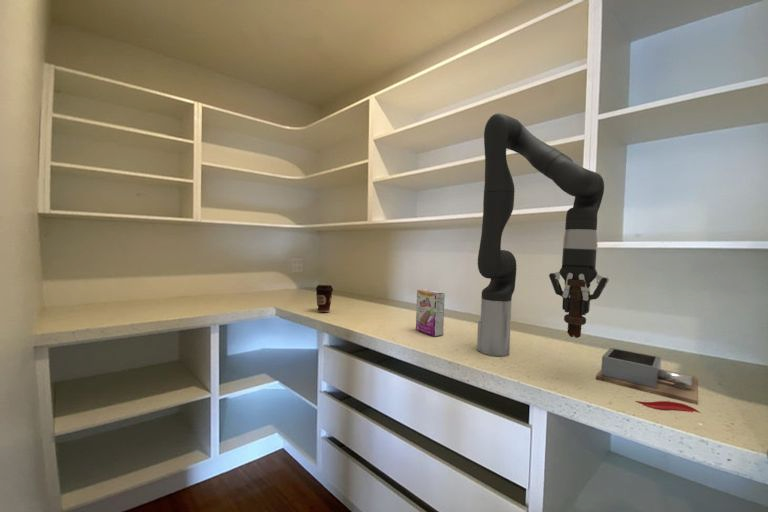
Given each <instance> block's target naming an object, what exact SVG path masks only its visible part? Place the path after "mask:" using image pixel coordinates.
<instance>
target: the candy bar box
mask: <svg viewBox="0 0 768 512" xmlns="http://www.w3.org/2000/svg"><path fill="white" fill-rule="evenodd" d="M445 295H446V293H445V292H443V291H436V290H431V289H426V288H423V289H417V290H416V316H415V318H416V319H415V322H416V324H415V330H416V331H417V332H421V333H424V334H426V335H429V336H431V337H440V336H441V337H442V336H443V335H444V325H445V323H444V319H445V315H444V314H445Z"/></svg>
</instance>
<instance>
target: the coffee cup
mask: <svg viewBox="0 0 768 512" xmlns="http://www.w3.org/2000/svg"><path fill="white" fill-rule="evenodd" d="M315 290H316V291H315V292H316V306H317V309H316V310H317V312H324V313H325V312H327V313H328V312H331V309H330V308H331V305H332V304H331V303H332V298H333V296H332V294H333V291H334V288H333V286H332V285H331V284H317V286H316V288H315Z"/></svg>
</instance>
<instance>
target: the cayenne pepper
mask: <svg viewBox="0 0 768 512" xmlns="http://www.w3.org/2000/svg"><path fill="white" fill-rule="evenodd" d="M634 402H635V403H637V404H641V405H642V406H643V407H647V408H650V409H653V410H659V411H679V412H688V413H694V412H695V413H700V414H701V411H699V410H697V409H695V408H694V407H692V406H690V405H687V404H685V403H681V402H676V401H668V400H657V401H637V400H635V401H634Z"/></svg>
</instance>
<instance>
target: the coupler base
mask: <svg viewBox="0 0 768 512" xmlns="http://www.w3.org/2000/svg"><path fill="white" fill-rule="evenodd" d="M661 370H664V371H669V372H673V373H678V374H683V375H688V376H692V387H690V386H686V391H685V390H681V389H677V388H674V383H672V382H668V381H664V380H659V382H658V385H657V389H653V388H649V387H645V386H641V385H637V384H633V383H629V382H625V381H621V380H617V379H613V378H608V377H604V376H601V371H602V368H601V369H600V370H599V372H597V374H596V375H595V380H597V381H601V382H605V383H609V384H613V385H617V386H621V387H624V388H625V387H626V388H629V389H633V390H635V391H636V390H637V391H640V392H645V393H647V394H648V393H649V394H653V395H656V396H660V397H664V398H665V397H666V398H669V399H673V400H677V401H681V402H685V403H689V404H693V405H697V406H698V377H697V376H693V375H690V374H686V373H681V372H676V371H672V370H667V369H662V368H661Z"/></svg>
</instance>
